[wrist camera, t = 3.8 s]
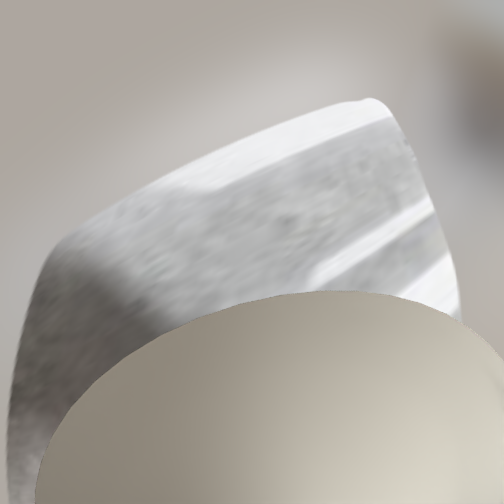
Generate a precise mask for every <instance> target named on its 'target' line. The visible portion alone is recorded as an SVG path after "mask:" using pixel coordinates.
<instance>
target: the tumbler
mask: <svg viewBox="0 0 504 504" xmlns="http://www.w3.org/2000/svg"><path fill="white" fill-rule="evenodd" d="M35 504H504V361H503V360H502V358H501V357H500V356H499V355H498V354H497V353H496V352H495V351H494V349H493V348H492V347H491V346H490V345H489V344H488V343H487V342H486V341H485V340H483V339H482V338H481V337H480V336H479V335H477V334H476V333H475V332H474V331H472V330H471V329H470V328H469V327H467V326H465V325H464V324H462V323H461V322H459V321H457V320H456V319H454V318H452V317H450V316H449V315H447V314H445V313H443V312H440V311H438V310H436V309H433V308H431V307H428V306H426V305H423V304H421V303H418V302H414V301H410V300H406V299H402V298H398V297H395V296H391V295H384V294H376V293H368V292H360V291H314V292H305V293H296V294H287V295H279V296H274V297H270V298H265V299H261V300H256V301H252V302H247V303H242V304H238V305H236V306H233V307H230V308H227V309H224V310H221V311H218V312H215V313H212V314H209V315H206V316H203V317H199V318H197V319H195V320H193V321H191V322H189V323H187V324H184V325H182V326H180V327H178V328H176V329H173V330H171V331H169V332H167V333H165V334H162V335H160V336H159V337H157V338H155V339H154V340H152V341H151V342H149V343H147V344H146V345H144V346H142V347H141V348H139V349H137V350H136V351H134V352H133V353H131V354H129V355H128V356H126V357H125V358H123V359H122V360H121V361H120V362H118V363H117V364H116V365H115V366H113V367H112V368H111V369H110V370H108V371H107V372H106V373H105V374H103V375H102V376H101V377H100V378H98V379H97V380H96V381H95V382H94V383H93V384H92V385H91V386H90V387H89V388H88V389H87V390H86V392H85V393H84V394H83V395H82V396H81V397H80V398H79V399H78V400H77V401H76V402H75V403H74V404H73V406H72V407H71V408H70V409H69V411H68V412H67V414H66V415H65V417H64V418H63V420H62V421H61V423H60V424H59V426H58V428H57V429H56V431H55V432H54V434H53V436H52V438H51V440H50V442H49V445H48V447H47V449H46V452H45V454H44V456H43V459H42V461H41V465H40V469H39V474H38V478H37V483H36V489H35Z"/></svg>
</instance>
